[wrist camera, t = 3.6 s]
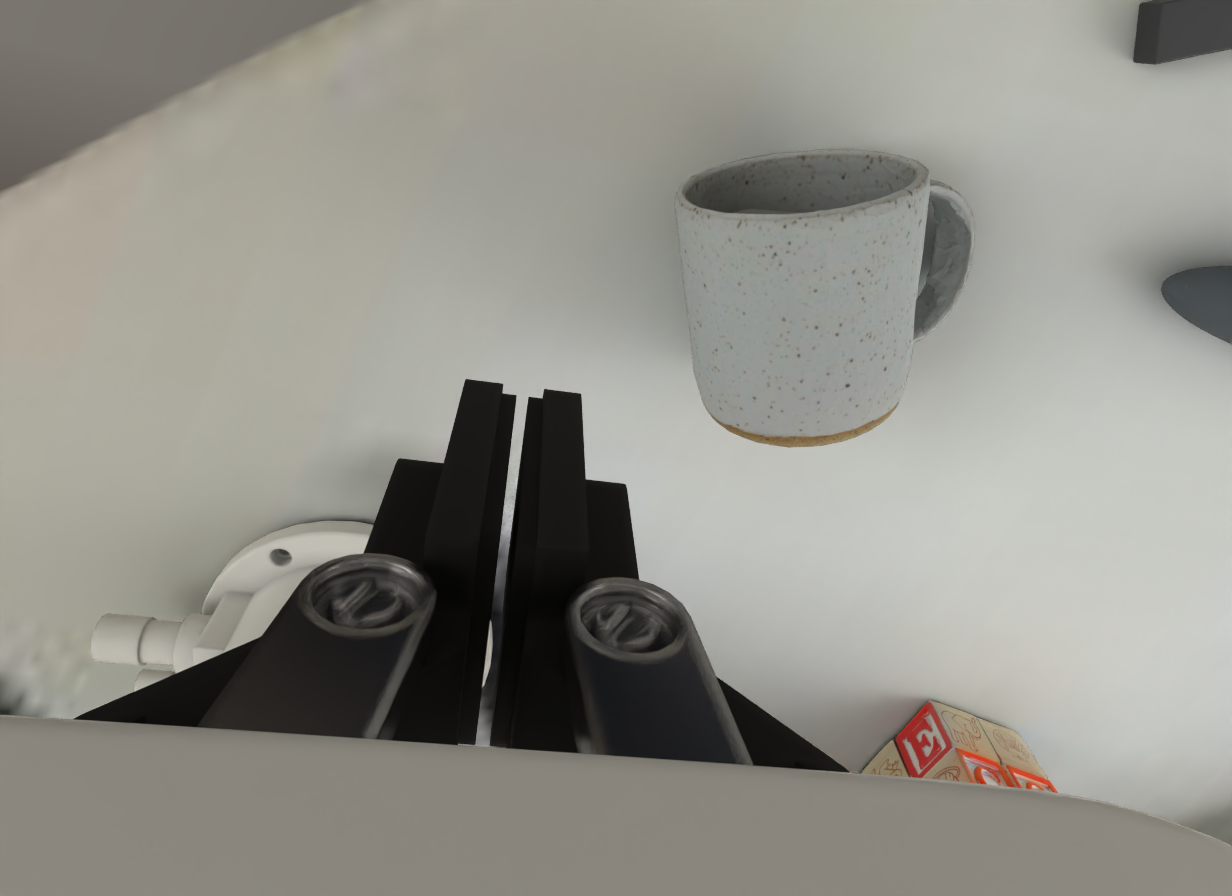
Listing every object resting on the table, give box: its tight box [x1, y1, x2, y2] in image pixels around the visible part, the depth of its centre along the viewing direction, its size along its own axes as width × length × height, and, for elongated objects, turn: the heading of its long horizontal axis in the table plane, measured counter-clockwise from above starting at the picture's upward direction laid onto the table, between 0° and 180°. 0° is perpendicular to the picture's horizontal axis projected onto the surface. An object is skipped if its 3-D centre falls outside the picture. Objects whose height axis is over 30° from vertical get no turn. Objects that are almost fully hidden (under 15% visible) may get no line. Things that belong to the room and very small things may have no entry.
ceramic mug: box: [675, 150, 975, 447], centre depth 27 cm, size 11×8×8 cm
